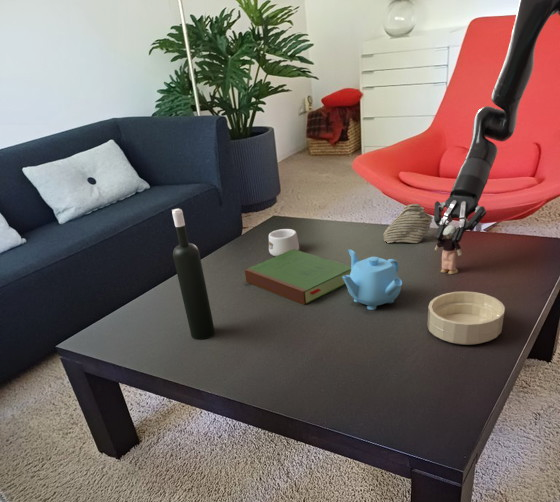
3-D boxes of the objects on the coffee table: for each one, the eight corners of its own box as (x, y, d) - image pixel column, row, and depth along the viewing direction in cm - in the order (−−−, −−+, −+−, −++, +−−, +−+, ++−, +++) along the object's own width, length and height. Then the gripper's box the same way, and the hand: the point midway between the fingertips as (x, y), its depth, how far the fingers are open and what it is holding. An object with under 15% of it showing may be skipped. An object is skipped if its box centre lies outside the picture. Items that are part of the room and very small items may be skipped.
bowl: (512, 323, 116) (516, 300, 112) (483, 354, 106) (486, 331, 103) (446, 307, 125) (448, 286, 122) (414, 335, 115) (415, 313, 112)
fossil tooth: (384, 241, 168) (433, 236, 164) (383, 247, 163) (433, 242, 159) (381, 205, 162) (431, 198, 158) (380, 210, 157) (432, 204, 153)
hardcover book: (246, 281, 149) (244, 269, 147) (294, 260, 159) (293, 249, 157) (306, 306, 133) (305, 292, 131) (356, 280, 142) (355, 267, 140)
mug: (304, 252, 164) (303, 233, 161) (277, 260, 161) (274, 241, 158) (287, 242, 173) (286, 224, 170) (261, 249, 170) (259, 231, 167)
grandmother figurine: (463, 270, 141) (467, 223, 134) (459, 275, 138) (463, 228, 131) (435, 266, 145) (438, 221, 138) (430, 272, 142) (433, 226, 135)
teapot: (337, 311, 129) (335, 268, 122) (349, 287, 139) (348, 247, 133) (399, 315, 124) (401, 271, 117) (407, 290, 134) (409, 248, 128)
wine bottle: (217, 327, 128) (194, 204, 111) (210, 339, 123) (184, 213, 107) (195, 327, 129) (169, 206, 113) (187, 339, 125) (158, 214, 108)
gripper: (441, 171, 137) (416, 231, 136) (495, 175, 129) (469, 239, 128) (449, 186, 143) (425, 244, 142) (501, 191, 135) (476, 252, 134)
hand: (446, 241), depth 135 cm, fingers open, 3 cm apart
